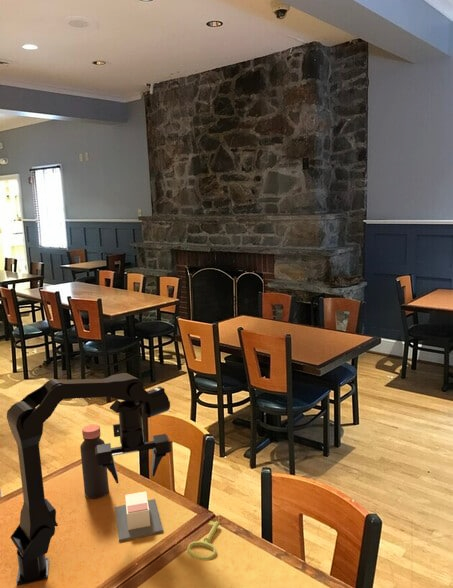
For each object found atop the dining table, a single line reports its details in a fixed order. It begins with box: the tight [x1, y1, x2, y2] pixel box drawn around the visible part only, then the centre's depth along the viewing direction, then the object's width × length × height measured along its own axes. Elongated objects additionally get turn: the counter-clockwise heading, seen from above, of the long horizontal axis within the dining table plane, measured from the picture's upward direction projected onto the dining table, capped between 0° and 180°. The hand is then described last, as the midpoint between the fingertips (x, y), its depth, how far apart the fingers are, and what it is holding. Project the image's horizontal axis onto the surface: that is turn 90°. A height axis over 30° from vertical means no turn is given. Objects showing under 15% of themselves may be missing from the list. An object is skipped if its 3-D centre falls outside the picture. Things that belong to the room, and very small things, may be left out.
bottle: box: [79, 423, 110, 499], centre depth 140 cm, size 7×7×20 cm
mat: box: [114, 498, 164, 543], centre depth 128 cm, size 14×11×1 cm
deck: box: [125, 491, 150, 530], centre depth 128 cm, size 6×9×5 cm, turn 14°
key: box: [186, 520, 220, 561], centre depth 119 cm, size 7×12×2 cm, turn 176°
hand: (135, 479), depth 126 cm, fingers open, 9 cm apart
